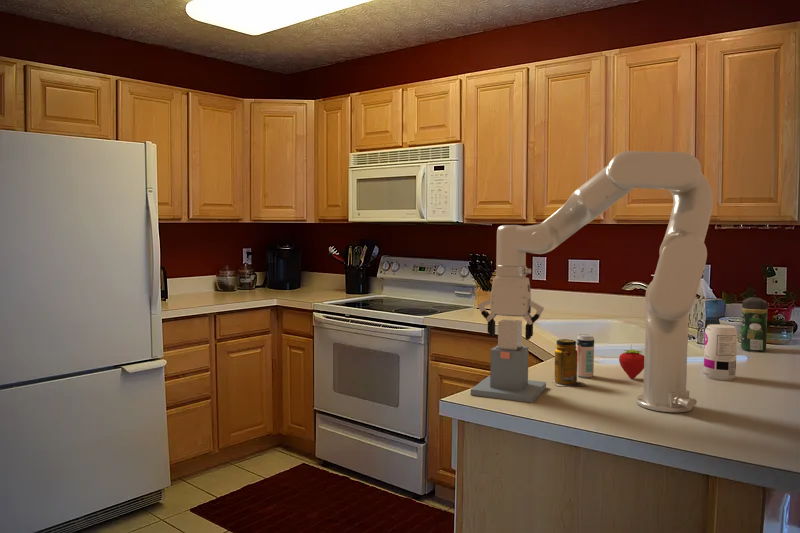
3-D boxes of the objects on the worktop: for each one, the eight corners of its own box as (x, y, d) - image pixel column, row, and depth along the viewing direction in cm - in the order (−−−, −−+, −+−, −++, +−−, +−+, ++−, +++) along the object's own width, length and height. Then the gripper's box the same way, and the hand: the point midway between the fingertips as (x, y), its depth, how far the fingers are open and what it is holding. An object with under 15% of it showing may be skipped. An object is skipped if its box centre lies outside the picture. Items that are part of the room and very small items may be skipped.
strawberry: (644, 382, 171) (645, 347, 170) (616, 379, 175) (617, 344, 174) (648, 378, 176) (649, 343, 175) (620, 375, 180) (621, 341, 179)
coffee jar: (740, 346, 224) (742, 295, 223) (765, 348, 220) (767, 297, 219) (740, 351, 216) (742, 298, 214) (766, 353, 212) (768, 299, 211)
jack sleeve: (546, 387, 166) (546, 345, 165) (532, 402, 151) (533, 356, 150) (488, 381, 172) (489, 340, 172) (470, 395, 158) (470, 350, 157)
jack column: (521, 384, 163) (522, 320, 162) (516, 388, 158) (517, 323, 157) (502, 381, 165) (503, 319, 164) (496, 386, 161) (497, 321, 159)
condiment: (550, 380, 174) (551, 338, 173) (580, 380, 174) (581, 338, 173) (556, 386, 167) (557, 343, 166) (588, 386, 167) (588, 343, 166)
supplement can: (699, 377, 177) (701, 326, 176) (708, 372, 183) (710, 322, 182) (730, 382, 172) (732, 329, 171) (738, 377, 178) (740, 325, 177)
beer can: (580, 373, 182) (581, 333, 181) (595, 376, 179) (596, 335, 178) (573, 376, 178) (574, 335, 177) (589, 379, 175) (590, 337, 174)
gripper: (547, 272, 160) (546, 337, 161) (483, 270, 167) (482, 332, 168) (541, 274, 153) (539, 342, 154) (474, 272, 160) (473, 337, 161)
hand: (509, 337), depth 161 cm, fingers open, 9 cm apart
